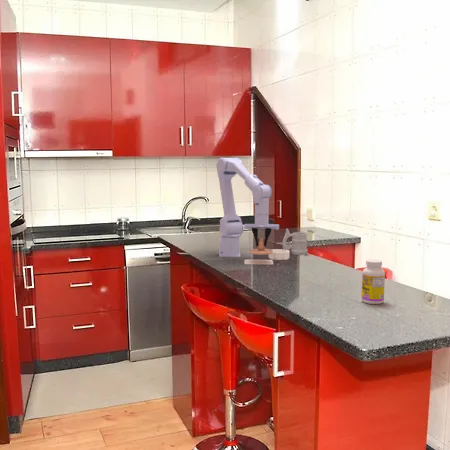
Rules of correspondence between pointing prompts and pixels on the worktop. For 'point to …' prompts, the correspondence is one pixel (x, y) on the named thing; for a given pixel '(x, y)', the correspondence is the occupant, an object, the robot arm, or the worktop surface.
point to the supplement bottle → (373, 282)
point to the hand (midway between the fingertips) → (261, 246)
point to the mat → (258, 262)
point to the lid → (261, 248)
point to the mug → (296, 243)
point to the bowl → (279, 254)
